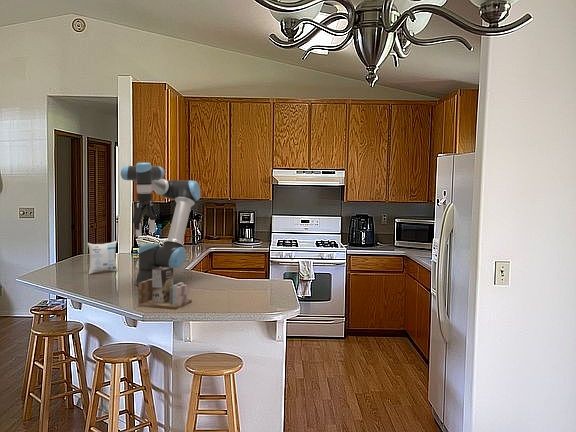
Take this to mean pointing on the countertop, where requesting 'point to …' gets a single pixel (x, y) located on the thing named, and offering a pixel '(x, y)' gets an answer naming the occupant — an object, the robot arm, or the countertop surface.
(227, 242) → the countertop surface
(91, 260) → the pouch
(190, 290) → the countertop surface
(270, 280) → the countertop surface
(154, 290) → the coffee box
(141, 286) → the shelf
